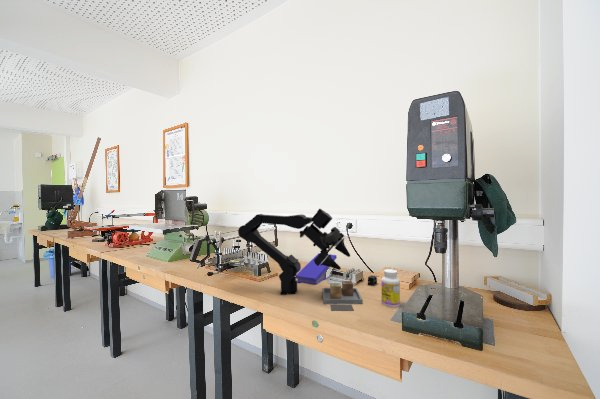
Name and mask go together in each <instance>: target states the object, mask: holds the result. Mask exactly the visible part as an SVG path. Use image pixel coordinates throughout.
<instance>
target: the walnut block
mask: <svg viewBox="0 0 600 399" xmlns="http://www.w3.org/2000/svg"><path fill="white" fill-rule="evenodd" d="M341 288H342V294H343V296H353V288H354V282H353V281H352V280H342V281H341Z"/></svg>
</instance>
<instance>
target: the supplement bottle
mask: <svg viewBox="0 0 600 399" xmlns="http://www.w3.org/2000/svg"><path fill="white" fill-rule="evenodd" d="M383 274H384V276H382V277H381V280H380V281H381V304H382V305H383V306H386V307H391V308H396V307H400V304H401V289H400V288H401V280H400V278H399V277H398V276H397V275H398V271H397V270H396V269H391V268H390V269H387V268H386V269H384V270H383Z"/></svg>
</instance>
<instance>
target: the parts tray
mask: <svg viewBox="0 0 600 399" xmlns="http://www.w3.org/2000/svg"><path fill="white" fill-rule="evenodd" d="M322 299H323V304H324V305H326V304H327V305H363V302H364V300H363V298H362V296H361V294H360V291H359V290H358V288H356V287H353V296H343V294H342V287H341V299H330V287H323V288H322Z"/></svg>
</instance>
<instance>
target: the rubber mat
mask: <svg viewBox="0 0 600 399" xmlns="http://www.w3.org/2000/svg"><path fill="white" fill-rule="evenodd" d="M329 305H330V306H329V307H330V311H332V312H335V311H336V312H337V311H338V312H354V307H353V304H329Z"/></svg>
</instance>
